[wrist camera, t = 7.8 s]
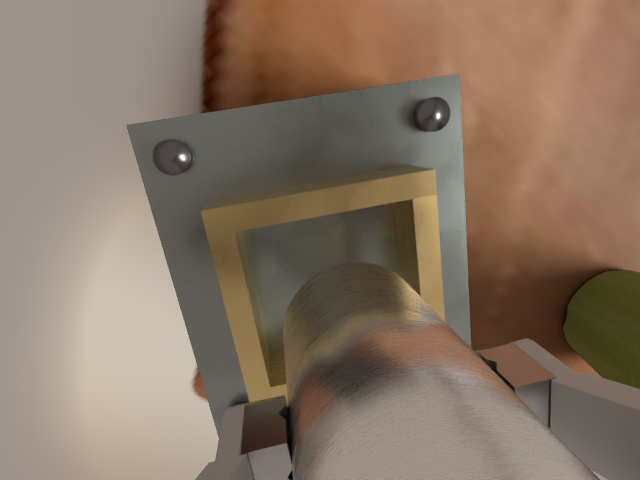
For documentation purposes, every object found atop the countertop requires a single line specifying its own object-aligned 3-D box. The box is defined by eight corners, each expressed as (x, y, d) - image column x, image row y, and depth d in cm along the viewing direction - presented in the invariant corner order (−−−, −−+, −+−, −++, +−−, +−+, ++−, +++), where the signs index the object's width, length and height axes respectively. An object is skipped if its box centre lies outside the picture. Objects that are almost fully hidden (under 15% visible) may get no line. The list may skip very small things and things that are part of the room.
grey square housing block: (167, 129, 20) (97, 122, 12) (408, 91, 21) (493, 61, 13) (231, 372, 25) (213, 486, 17) (427, 329, 26) (500, 415, 18)
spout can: (269, 278, 12) (273, 1247, 1) (414, 249, 12) (1215, 840, 2) (296, 402, 13) (397, 1361, 3) (425, 372, 14) (925, 1106, 3)
